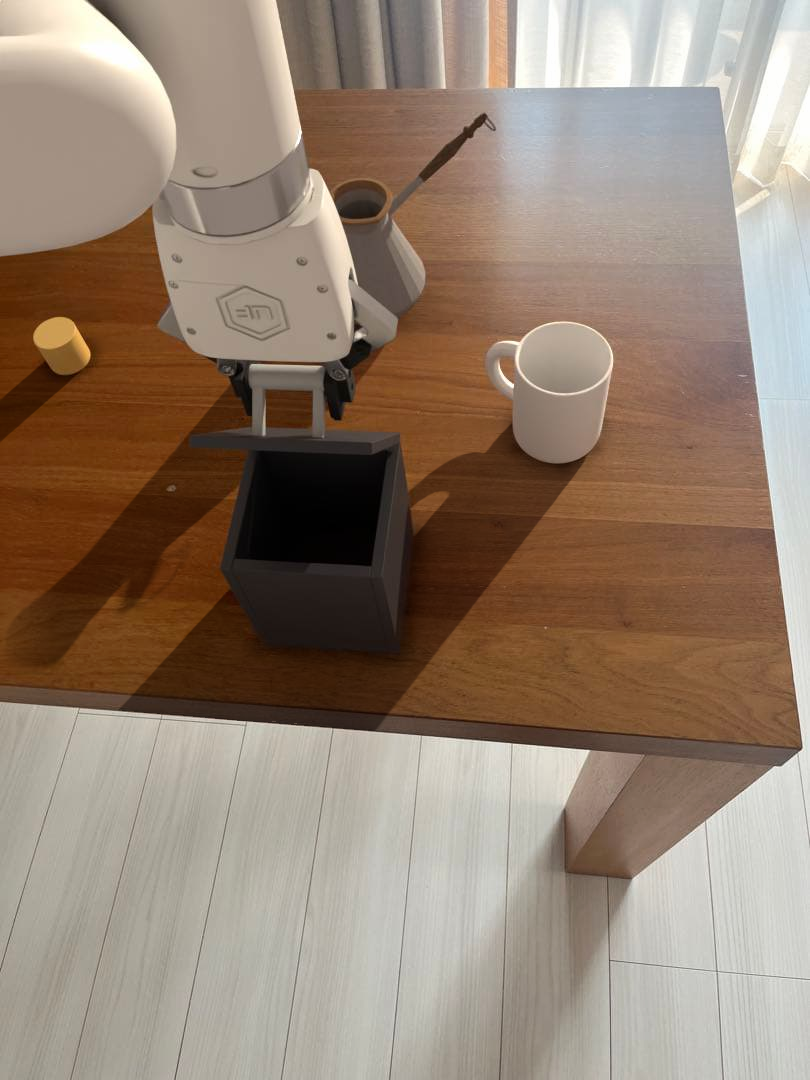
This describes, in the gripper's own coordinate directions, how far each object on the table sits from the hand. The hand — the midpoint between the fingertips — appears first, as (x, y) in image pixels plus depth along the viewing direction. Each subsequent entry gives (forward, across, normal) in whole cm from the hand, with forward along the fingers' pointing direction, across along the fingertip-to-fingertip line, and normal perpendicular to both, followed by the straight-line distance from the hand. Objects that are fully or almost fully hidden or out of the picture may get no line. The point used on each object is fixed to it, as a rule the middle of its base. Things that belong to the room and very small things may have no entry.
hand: (298, 400), depth 60 cm
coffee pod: (+22, -33, +22) cm, 45 cm away
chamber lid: (+3, 0, -1) cm, 4 cm away
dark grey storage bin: (+22, 0, -3) cm, 22 cm away
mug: (+22, +17, +16) cm, 32 cm away
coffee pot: (+22, +2, +35) cm, 41 cm away
